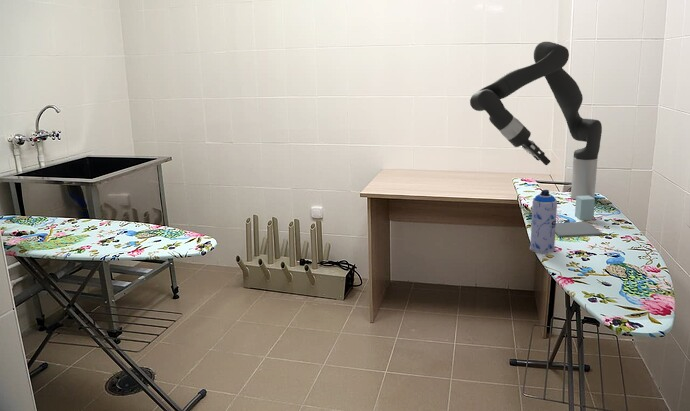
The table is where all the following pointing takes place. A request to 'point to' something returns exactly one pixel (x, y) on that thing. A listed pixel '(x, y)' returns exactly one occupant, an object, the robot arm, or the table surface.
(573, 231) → the mat
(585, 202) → the block
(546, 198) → the aerosol can
